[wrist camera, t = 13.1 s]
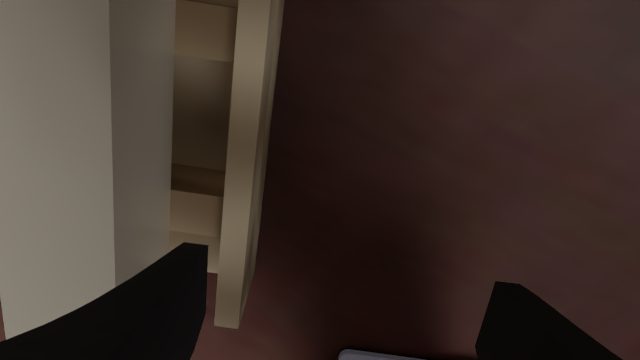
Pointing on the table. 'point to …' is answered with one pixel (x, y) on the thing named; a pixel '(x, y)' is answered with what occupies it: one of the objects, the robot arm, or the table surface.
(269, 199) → the table surface
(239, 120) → the wooden compartment tray
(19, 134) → the grayish beige rectangular block
